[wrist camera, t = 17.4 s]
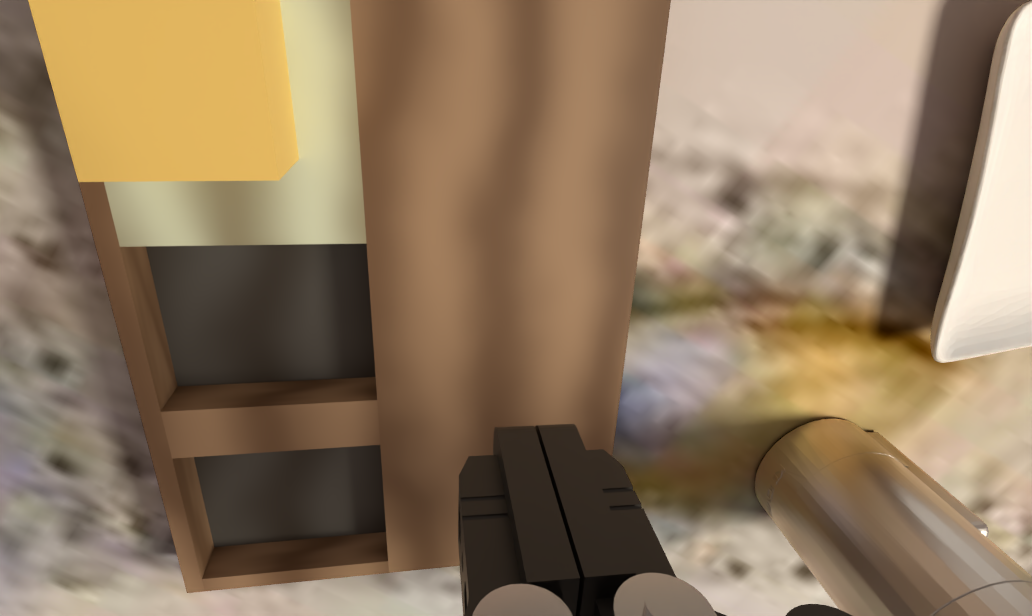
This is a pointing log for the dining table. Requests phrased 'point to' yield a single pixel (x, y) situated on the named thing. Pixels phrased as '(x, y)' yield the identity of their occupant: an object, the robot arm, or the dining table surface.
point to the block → (170, 88)
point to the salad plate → (994, 216)
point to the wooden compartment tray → (388, 280)
